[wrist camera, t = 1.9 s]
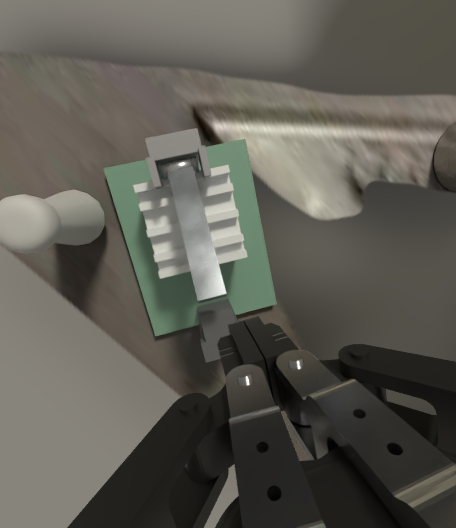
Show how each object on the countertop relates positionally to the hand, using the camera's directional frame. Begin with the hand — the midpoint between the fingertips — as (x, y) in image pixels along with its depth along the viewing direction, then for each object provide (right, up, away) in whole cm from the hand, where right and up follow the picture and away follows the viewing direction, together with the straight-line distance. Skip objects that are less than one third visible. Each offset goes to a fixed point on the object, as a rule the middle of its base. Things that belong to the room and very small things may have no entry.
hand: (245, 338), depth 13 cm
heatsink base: (-5, +7, +21) cm, 23 cm away
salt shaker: (-17, +9, +19) cm, 27 cm away
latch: (-3, -1, +22) cm, 22 cm away
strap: (-4, +7, +10) cm, 13 cm away
